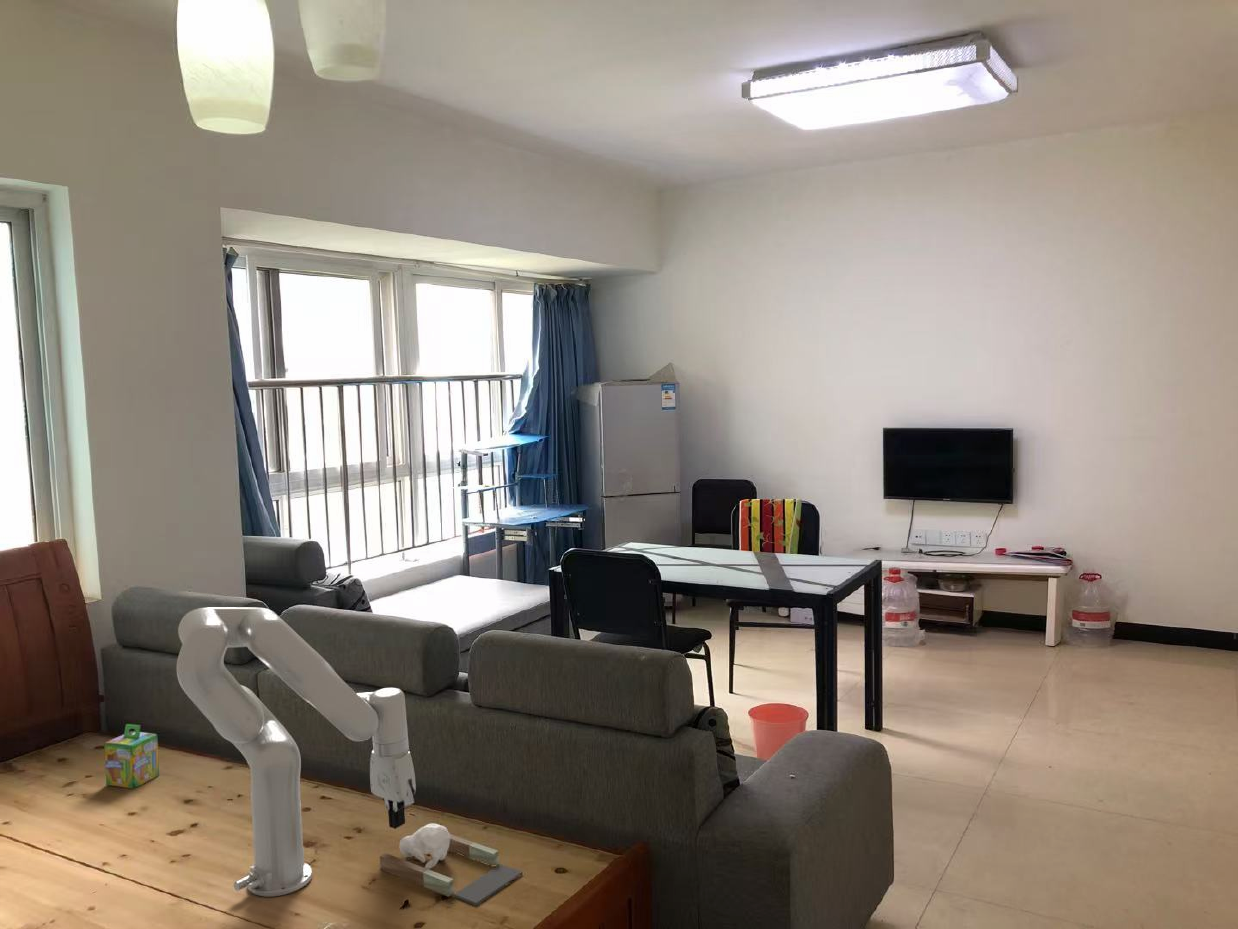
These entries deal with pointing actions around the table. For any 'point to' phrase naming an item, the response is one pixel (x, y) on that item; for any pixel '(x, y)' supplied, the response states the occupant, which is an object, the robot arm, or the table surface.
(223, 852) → the table surface
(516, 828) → the table surface
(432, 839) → the white figurine
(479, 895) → the mat
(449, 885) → the parallel bars
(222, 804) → the table surface
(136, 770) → the chalk box
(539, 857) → the table surface
